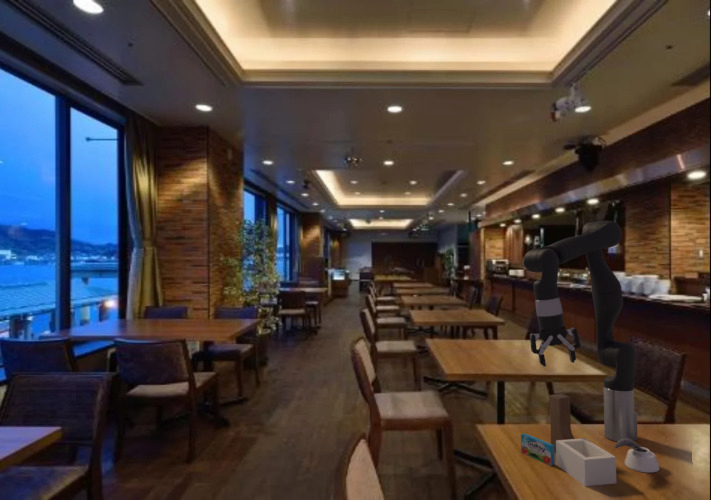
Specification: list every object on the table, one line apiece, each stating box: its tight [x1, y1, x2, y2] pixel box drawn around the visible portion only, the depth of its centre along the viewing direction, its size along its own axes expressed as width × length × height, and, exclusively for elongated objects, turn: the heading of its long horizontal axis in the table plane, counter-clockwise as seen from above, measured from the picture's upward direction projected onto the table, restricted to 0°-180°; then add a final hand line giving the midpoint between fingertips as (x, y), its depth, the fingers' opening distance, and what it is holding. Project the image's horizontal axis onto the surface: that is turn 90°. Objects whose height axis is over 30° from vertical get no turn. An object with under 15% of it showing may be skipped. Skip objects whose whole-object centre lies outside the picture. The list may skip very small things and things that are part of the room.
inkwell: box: [614, 438, 661, 474], centre depth 149 cm, size 9×18×10 cm, turn 123°
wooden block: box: [549, 393, 576, 453], centre depth 161 cm, size 9×4×18 cm, turn 20°
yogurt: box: [520, 433, 556, 467], centre depth 158 cm, size 12×2×6 cm, turn 28°
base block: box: [555, 437, 617, 487], centre depth 147 cm, size 10×14×8 cm, turn 9°
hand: (558, 364), depth 156 cm, fingers open, 8 cm apart
